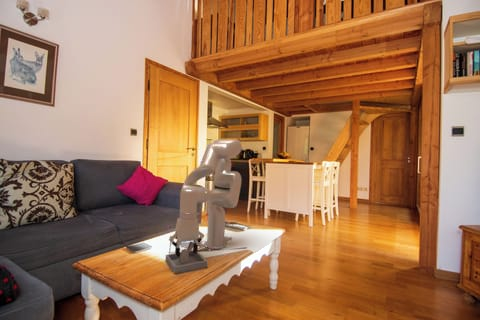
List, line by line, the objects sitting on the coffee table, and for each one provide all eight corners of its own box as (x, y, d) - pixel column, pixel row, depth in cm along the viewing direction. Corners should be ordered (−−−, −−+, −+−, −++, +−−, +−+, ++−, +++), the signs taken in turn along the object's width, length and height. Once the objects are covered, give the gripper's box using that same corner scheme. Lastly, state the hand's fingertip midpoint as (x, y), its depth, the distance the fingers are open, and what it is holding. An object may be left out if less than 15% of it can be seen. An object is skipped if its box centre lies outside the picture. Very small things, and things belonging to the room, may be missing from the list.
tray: (195, 256, 124) (195, 250, 124) (207, 267, 111) (207, 261, 111) (165, 261, 116) (165, 254, 116) (174, 274, 104) (174, 267, 104)
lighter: (180, 263, 111) (181, 245, 111) (178, 262, 112) (179, 244, 112) (194, 258, 116) (194, 241, 116) (191, 257, 117) (192, 240, 117)
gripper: (202, 212, 121) (201, 248, 122) (166, 215, 112) (165, 254, 112) (209, 215, 115) (207, 254, 115) (171, 219, 106) (169, 260, 106)
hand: (186, 254), depth 114 cm, fingers open, 7 cm apart
